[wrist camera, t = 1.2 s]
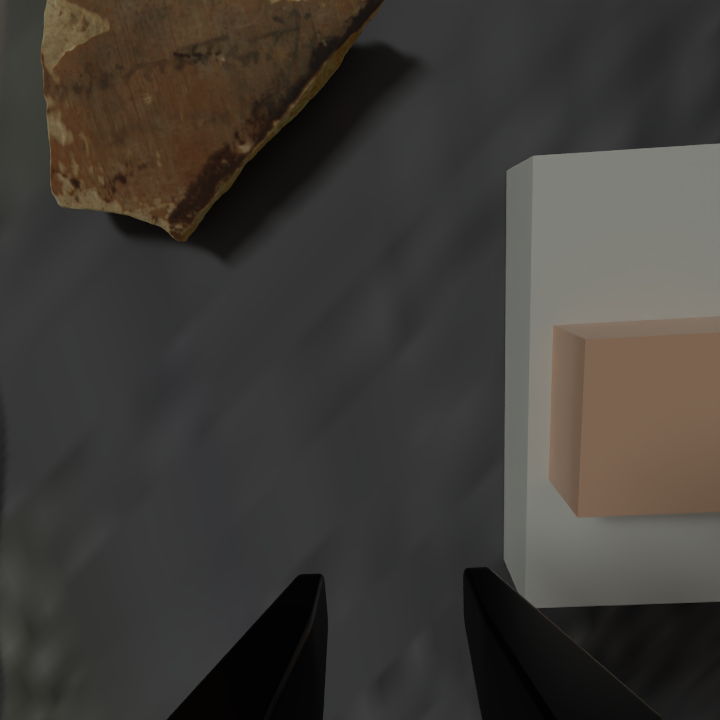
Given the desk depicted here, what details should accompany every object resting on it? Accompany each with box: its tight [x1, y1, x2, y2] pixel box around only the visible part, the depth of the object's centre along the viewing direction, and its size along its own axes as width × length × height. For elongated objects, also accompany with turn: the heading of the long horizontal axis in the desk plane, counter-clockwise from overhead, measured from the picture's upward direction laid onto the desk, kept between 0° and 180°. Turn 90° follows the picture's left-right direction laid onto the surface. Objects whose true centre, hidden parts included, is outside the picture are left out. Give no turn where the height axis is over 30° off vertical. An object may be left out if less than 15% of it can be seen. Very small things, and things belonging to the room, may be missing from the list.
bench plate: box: [504, 144, 720, 608], centre depth 18 cm, size 16×10×3 cm, turn 3°
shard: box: [41, 0, 384, 242], centre depth 17 cm, size 11×8×2 cm
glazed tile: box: [549, 316, 720, 518], centre depth 15 cm, size 6×6×2 cm
